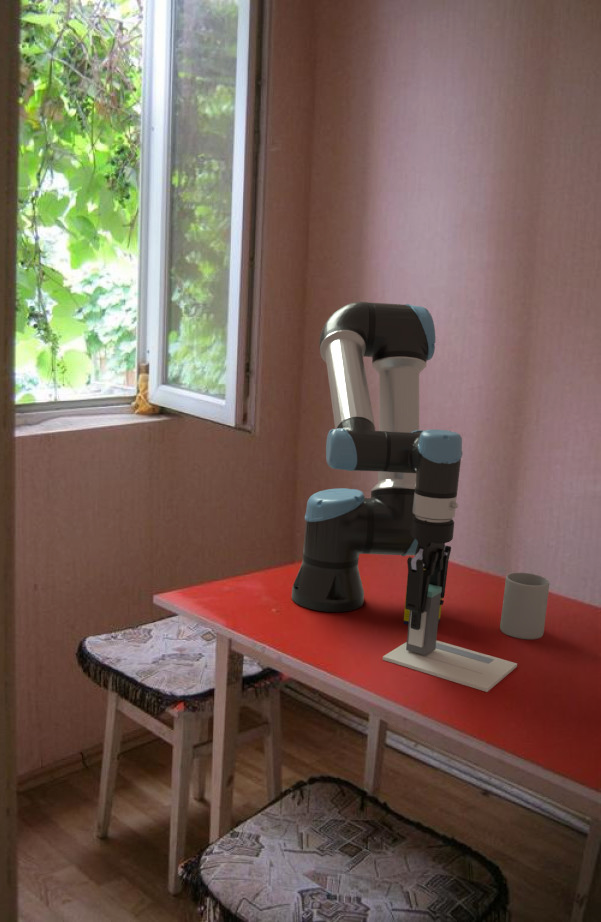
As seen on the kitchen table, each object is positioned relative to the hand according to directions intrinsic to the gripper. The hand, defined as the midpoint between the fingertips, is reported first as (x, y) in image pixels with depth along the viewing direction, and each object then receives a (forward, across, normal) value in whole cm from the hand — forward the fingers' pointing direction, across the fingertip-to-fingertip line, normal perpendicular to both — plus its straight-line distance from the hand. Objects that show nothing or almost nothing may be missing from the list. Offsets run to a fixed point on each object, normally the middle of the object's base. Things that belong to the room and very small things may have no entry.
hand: (421, 641), depth 174 cm
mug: (+3, +26, -9) cm, 28 cm away
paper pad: (+3, 0, -6) cm, 6 cm away
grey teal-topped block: (+2, 0, 0) cm, 2 cm away
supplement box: (+3, +15, +7) cm, 17 cm away
